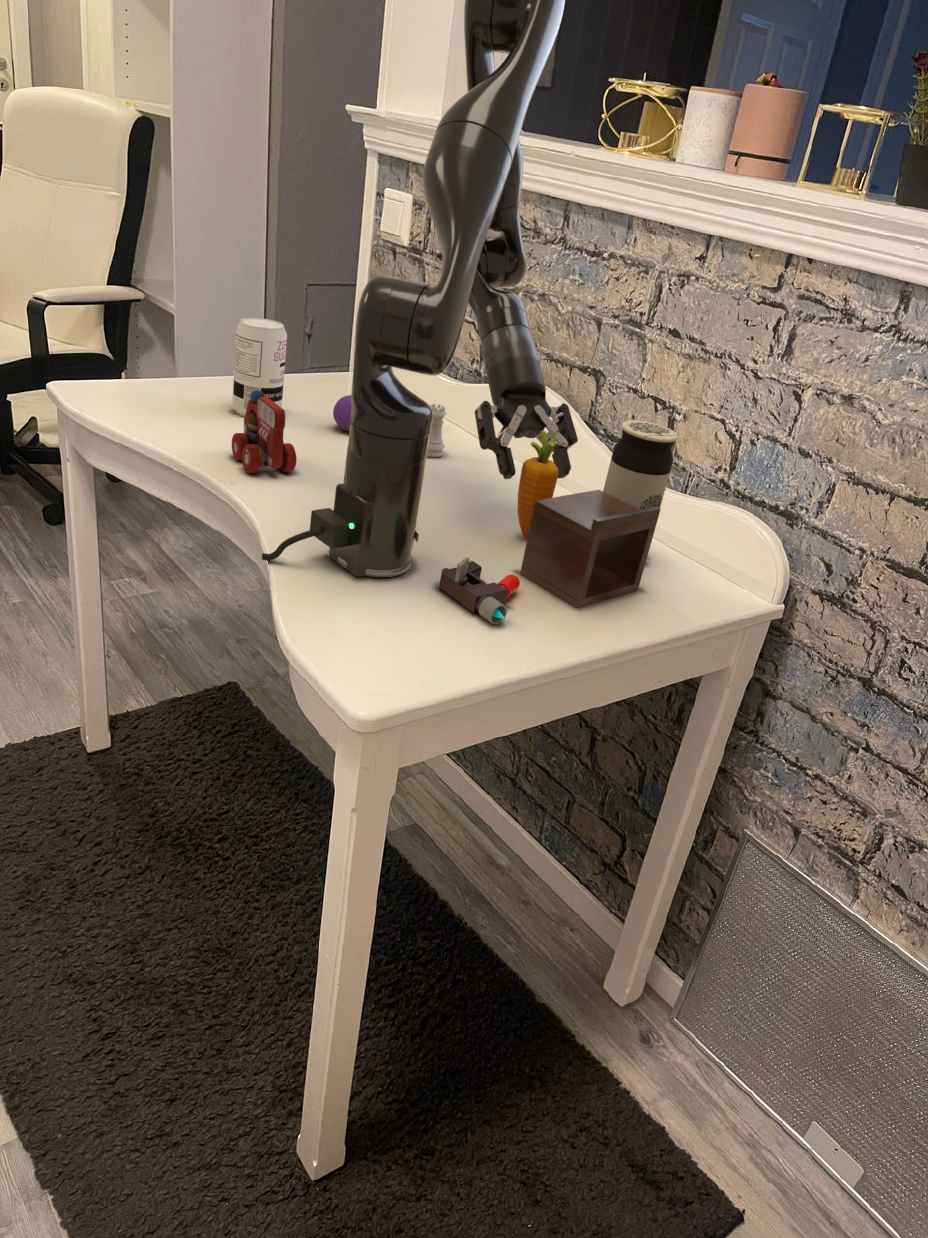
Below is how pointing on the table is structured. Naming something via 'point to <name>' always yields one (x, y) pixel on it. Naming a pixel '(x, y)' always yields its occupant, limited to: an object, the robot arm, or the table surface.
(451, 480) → the table surface
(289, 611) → the table surface
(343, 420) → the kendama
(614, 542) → the shelf
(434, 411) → the rook chess piece
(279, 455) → the toy fire truck
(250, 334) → the supplement can
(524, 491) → the carrot
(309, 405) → the table surface
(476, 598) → the toy gun
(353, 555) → the robot arm
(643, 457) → the travel mug
